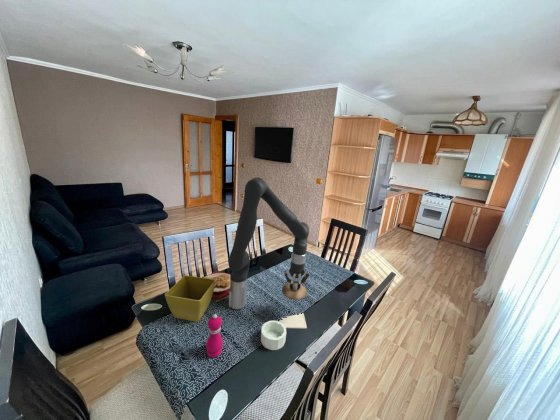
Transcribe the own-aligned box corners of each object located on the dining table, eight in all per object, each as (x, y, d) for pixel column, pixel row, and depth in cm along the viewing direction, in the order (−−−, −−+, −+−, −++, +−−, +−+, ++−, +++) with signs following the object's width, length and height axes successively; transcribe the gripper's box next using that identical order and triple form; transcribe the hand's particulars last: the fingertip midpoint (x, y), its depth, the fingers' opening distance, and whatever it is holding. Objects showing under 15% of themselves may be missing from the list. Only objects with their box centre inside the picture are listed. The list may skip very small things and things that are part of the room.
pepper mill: (224, 345, 105) (225, 309, 100) (220, 359, 98) (221, 321, 93) (208, 344, 105) (208, 308, 100) (204, 358, 98) (204, 320, 93)
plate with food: (219, 301, 129) (220, 296, 128) (189, 285, 141) (189, 280, 140) (245, 282, 149) (245, 278, 149) (217, 270, 161) (217, 266, 160)
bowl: (260, 350, 105) (261, 339, 103) (260, 330, 116) (261, 320, 115) (286, 350, 106) (287, 340, 104) (283, 330, 117) (284, 320, 116)
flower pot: (165, 322, 115) (163, 294, 111) (185, 299, 133) (184, 274, 129) (200, 329, 113) (200, 301, 109) (215, 304, 131) (216, 279, 127)
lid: (283, 299, 115) (284, 289, 113) (280, 283, 128) (281, 274, 126) (309, 300, 116) (310, 290, 114) (304, 284, 129) (305, 275, 128)
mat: (278, 328, 118) (279, 327, 118) (277, 308, 133) (277, 307, 133) (306, 328, 120) (306, 327, 120) (302, 309, 134) (302, 308, 134)
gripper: (285, 263, 113) (282, 292, 117) (312, 264, 114) (308, 293, 119) (284, 256, 120) (281, 284, 124) (309, 257, 121) (306, 285, 126)
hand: (294, 288), depth 121 cm, fingers closed on lid, 3 cm apart
